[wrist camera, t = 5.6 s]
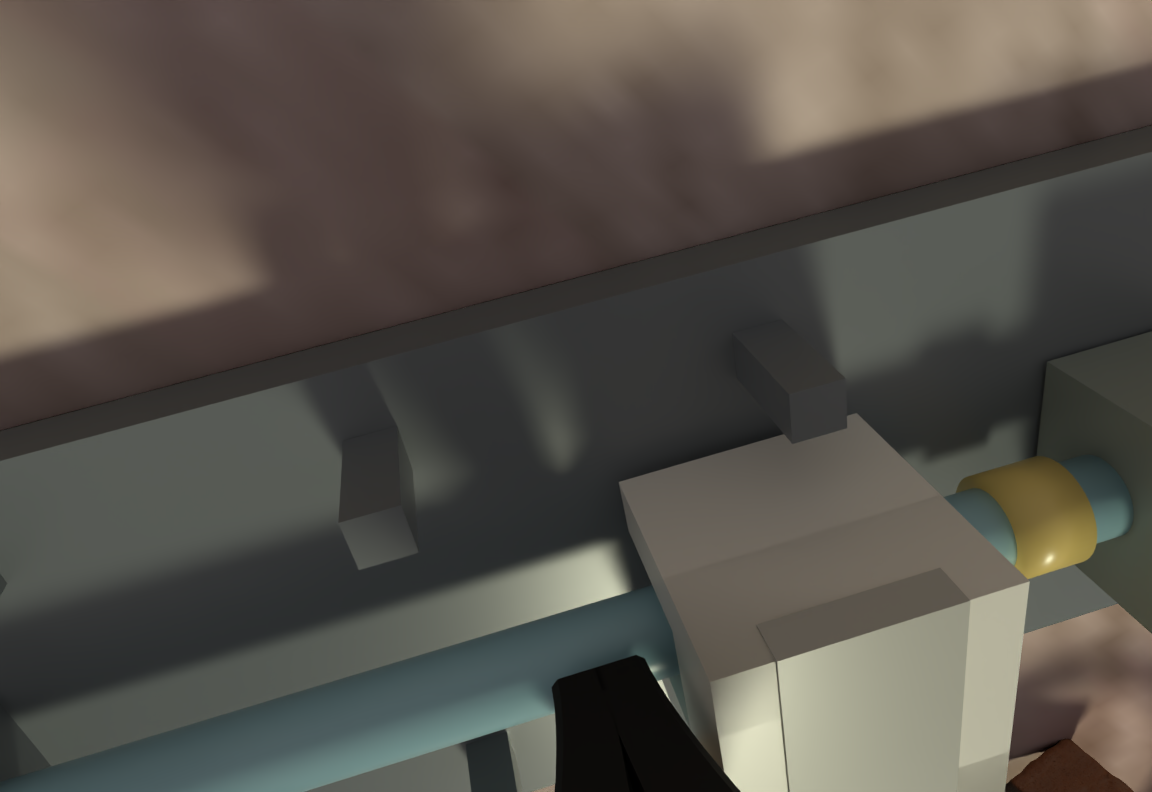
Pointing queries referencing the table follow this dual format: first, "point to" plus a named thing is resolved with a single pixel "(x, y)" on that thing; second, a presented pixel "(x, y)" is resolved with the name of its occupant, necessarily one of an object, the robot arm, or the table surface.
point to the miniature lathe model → (556, 485)
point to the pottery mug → (1065, 773)
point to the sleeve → (832, 617)
